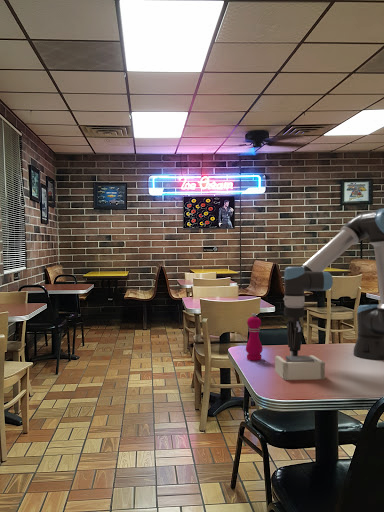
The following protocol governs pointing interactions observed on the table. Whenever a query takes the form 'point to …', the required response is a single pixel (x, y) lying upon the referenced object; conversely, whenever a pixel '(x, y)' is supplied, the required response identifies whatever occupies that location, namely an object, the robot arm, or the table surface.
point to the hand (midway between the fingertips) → (294, 367)
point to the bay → (300, 369)
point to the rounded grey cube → (298, 359)
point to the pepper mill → (254, 339)
